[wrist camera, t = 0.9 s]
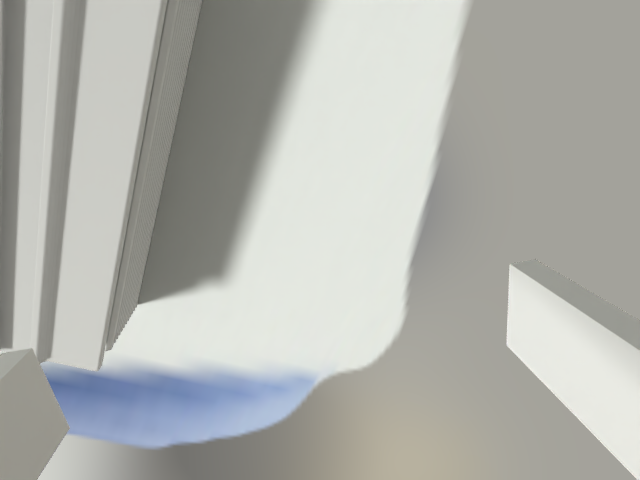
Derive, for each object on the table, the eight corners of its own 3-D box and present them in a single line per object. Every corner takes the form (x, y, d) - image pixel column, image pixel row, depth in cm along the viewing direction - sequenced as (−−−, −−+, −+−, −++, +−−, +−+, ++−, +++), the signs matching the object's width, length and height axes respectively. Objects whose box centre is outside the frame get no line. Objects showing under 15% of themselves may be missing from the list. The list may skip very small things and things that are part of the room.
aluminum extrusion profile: (-16, 263, 36) (-117, 335, 27) (-17, -136, 24) (-204, -241, 15) (138, 303, 39) (93, 379, 31) (211, -33, 27) (169, -69, 18)
